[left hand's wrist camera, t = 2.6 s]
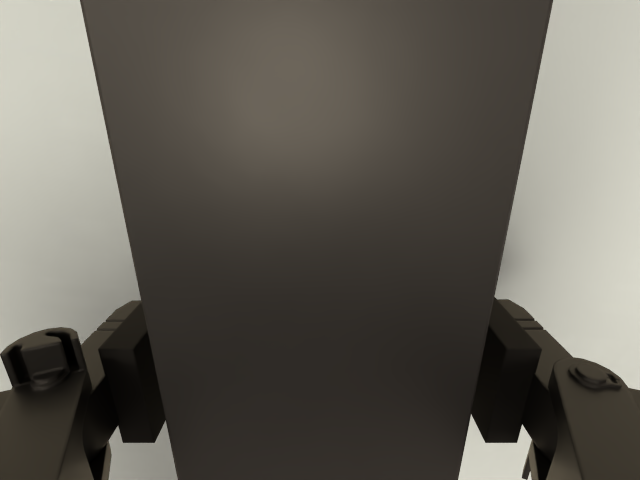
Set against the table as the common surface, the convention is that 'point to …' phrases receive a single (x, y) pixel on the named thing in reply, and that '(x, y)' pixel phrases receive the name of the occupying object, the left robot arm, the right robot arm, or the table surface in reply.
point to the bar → (317, 219)
